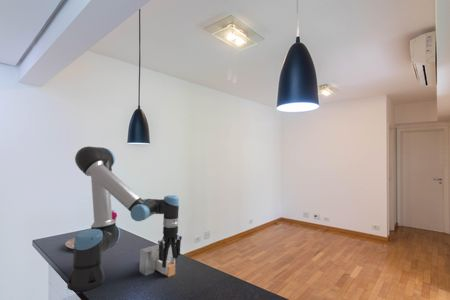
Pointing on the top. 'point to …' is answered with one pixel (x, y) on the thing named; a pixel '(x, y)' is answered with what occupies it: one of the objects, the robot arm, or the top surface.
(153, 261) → the grey arch-shaped block
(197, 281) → the top surface
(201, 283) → the top surface
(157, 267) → the white and orange bar
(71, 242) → the dinner plate
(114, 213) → the pepper mill
